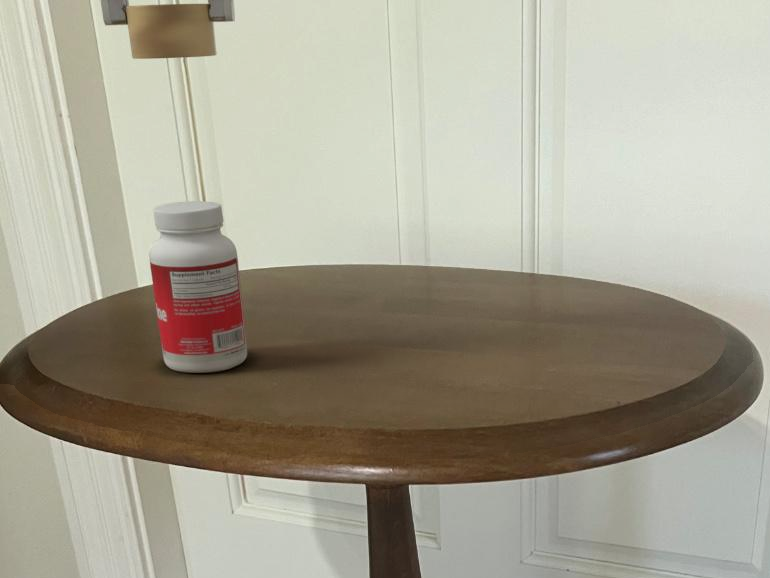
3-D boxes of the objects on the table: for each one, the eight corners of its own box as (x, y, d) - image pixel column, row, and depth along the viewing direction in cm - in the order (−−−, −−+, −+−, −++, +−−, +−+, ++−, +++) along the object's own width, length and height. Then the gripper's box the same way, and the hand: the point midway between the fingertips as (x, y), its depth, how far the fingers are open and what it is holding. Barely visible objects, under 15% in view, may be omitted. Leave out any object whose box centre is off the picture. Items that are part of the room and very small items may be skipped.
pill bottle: (173, 352, 83) (153, 200, 78) (253, 350, 83) (238, 198, 78) (156, 376, 78) (132, 214, 72) (241, 374, 77) (224, 211, 72)
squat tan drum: (124, 59, 69) (117, 6, 68) (140, 57, 74) (134, 7, 73) (211, 56, 69) (205, 3, 68) (221, 54, 74) (216, 4, 73)
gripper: (-56, -248, 61) (-4, 29, 68) (306, -258, 62) (323, 18, 68) (-21, -225, 67) (24, 28, 73) (311, -235, 67) (326, 18, 74)
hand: (171, 23), depth 71 cm, fingers closed on squat tan drum, 5 cm apart
